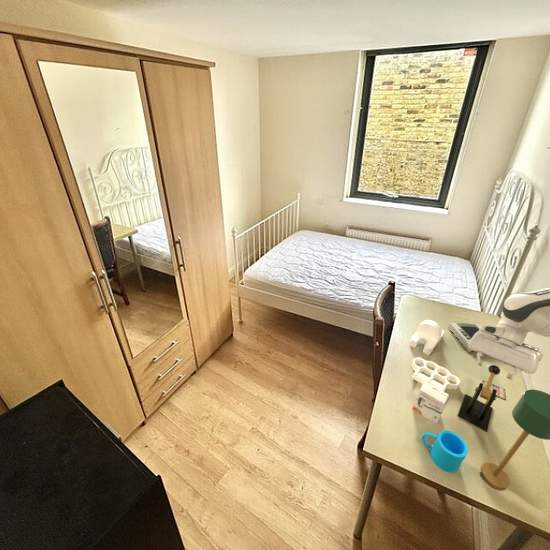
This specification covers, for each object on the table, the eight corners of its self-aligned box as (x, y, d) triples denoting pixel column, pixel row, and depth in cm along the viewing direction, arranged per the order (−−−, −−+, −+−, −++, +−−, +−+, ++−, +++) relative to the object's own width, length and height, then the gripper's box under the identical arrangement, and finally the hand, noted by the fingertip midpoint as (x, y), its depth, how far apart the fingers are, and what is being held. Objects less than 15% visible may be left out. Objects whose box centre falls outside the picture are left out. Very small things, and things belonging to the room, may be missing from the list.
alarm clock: (449, 322, 147) (481, 320, 147) (447, 329, 149) (478, 327, 149) (470, 346, 132) (506, 343, 132) (468, 353, 134) (503, 351, 134)
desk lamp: (508, 470, 89) (563, 397, 73) (514, 500, 82) (577, 428, 66) (474, 456, 93) (519, 384, 76) (477, 484, 85) (528, 412, 69)
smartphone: (504, 376, 121) (505, 374, 121) (504, 402, 110) (505, 400, 110) (482, 368, 125) (483, 366, 125) (479, 391, 114) (481, 389, 114)
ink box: (410, 411, 106) (419, 388, 100) (415, 402, 110) (424, 380, 104) (435, 426, 101) (446, 404, 95) (440, 416, 105) (450, 394, 99)
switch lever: (488, 365, 107) (491, 361, 105) (499, 370, 105) (502, 366, 103) (477, 396, 102) (479, 392, 100) (488, 401, 100) (491, 398, 98)
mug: (461, 456, 92) (470, 441, 88) (456, 478, 87) (465, 463, 83) (421, 433, 99) (428, 418, 95) (414, 452, 93) (421, 436, 89)
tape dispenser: (408, 344, 137) (414, 326, 132) (423, 327, 148) (429, 310, 143) (429, 355, 131) (436, 337, 126) (443, 336, 142) (449, 319, 137)
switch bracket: (463, 396, 112) (475, 373, 106) (491, 410, 107) (505, 386, 101) (456, 417, 104) (468, 393, 98) (485, 433, 99) (500, 409, 93)
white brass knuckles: (403, 375, 120) (417, 357, 130) (449, 402, 110) (461, 381, 119) (405, 370, 119) (419, 352, 128) (452, 397, 108) (464, 375, 117)
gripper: (541, 352, 103) (527, 388, 101) (475, 327, 114) (461, 359, 112) (547, 349, 97) (532, 387, 96) (477, 323, 109) (462, 356, 107)
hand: (493, 371), depth 104 cm, fingers open, 8 cm apart
